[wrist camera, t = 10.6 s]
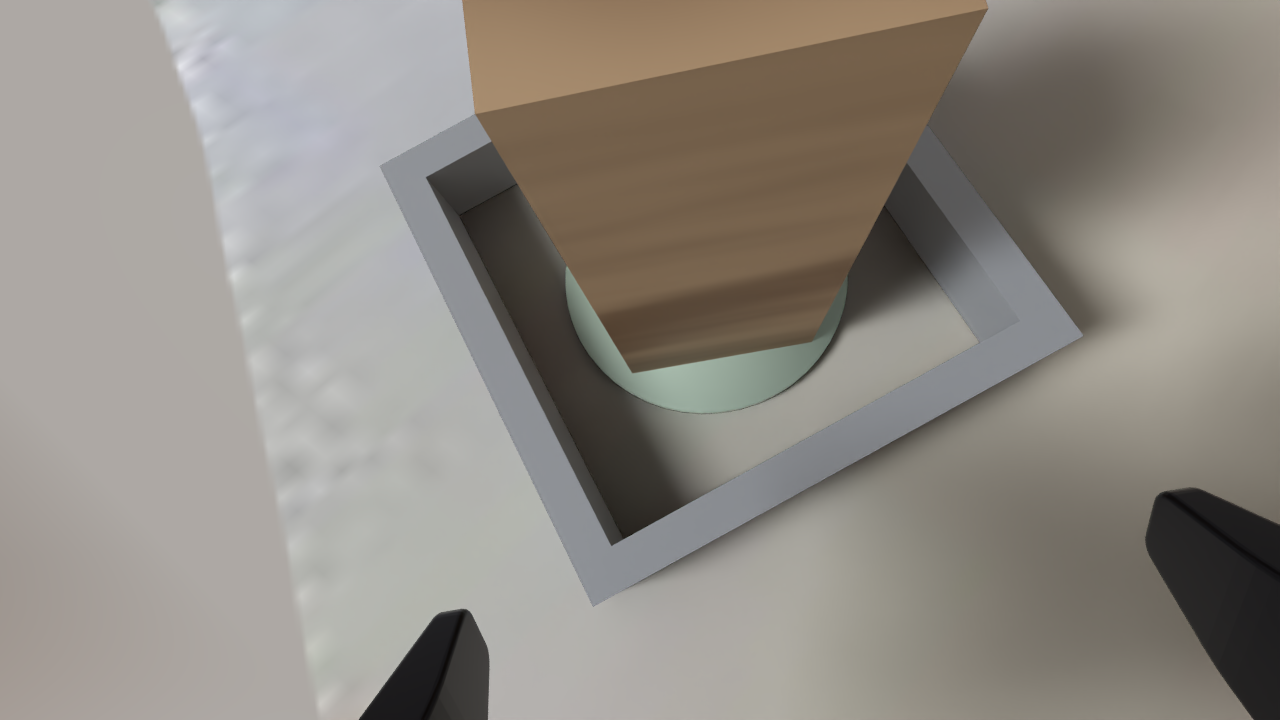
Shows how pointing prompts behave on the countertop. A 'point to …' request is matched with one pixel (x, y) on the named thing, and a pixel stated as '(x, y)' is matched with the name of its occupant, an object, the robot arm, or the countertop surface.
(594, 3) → the walnut block
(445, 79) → the countertop surface
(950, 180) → the walled pen
